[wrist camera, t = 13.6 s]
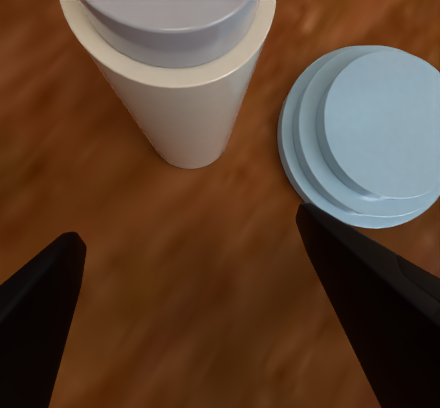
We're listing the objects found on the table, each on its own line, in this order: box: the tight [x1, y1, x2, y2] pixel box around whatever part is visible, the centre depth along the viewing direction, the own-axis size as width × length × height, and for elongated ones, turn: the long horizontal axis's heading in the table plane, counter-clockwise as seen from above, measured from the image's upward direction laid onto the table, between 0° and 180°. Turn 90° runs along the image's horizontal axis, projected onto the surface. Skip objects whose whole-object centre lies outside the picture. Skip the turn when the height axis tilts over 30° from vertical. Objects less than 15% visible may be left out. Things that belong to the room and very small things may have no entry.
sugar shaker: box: [60, 0, 276, 169], centre depth 10 cm, size 6×6×11 cm
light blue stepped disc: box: [277, 45, 440, 228], centre depth 16 cm, size 14×14×3 cm
